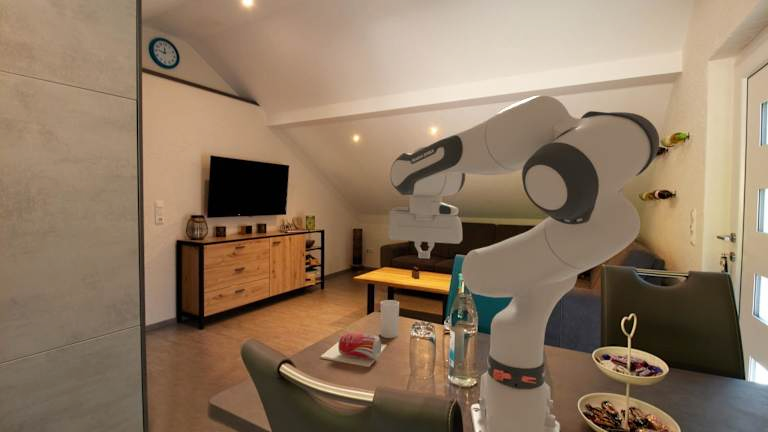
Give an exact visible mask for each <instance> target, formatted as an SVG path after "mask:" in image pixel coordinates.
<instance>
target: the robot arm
mask: <svg viewBox="0 0 768 432" xmlns="http://www.w3.org/2000/svg"><path fill="white" fill-rule="evenodd" d="M659 148H660V136H659V131H658V130H657V128H656V127H655V125H654V124H653V123H652V122H651V121H650V120H649V119H647V118H646V117H644V116H642V115H640V114H637V113H634V112H633V113H632V112H624V111H622V112H621V111H615V112H614V111H612V112H604V111H595V110H594V111H593V110H590V111H589V110H588V111H587V112H586V113H584V114H583V115H582V116H581V117H580V118H578V117H577V118H576V117H573V116H572V115H571V114H570V113H569V111H568V109H567V108H566V106H565V105H564V104H563V103H562V102H561V101H560V100H558V99H557V98H554V97H553V96H549V95H536V96H532V97H530V98H527V99H524V100H521V101H519V102H517V103H514V104H511V105H510V106H508V107H506V108H505V109H503V110H501V111H499V112H497V113H496V114H494V115H493V116H491V117H489V118H488V119H486V120H484V121H482V122H480V123H478V124H476V125H474V126H472V127H470V128H467V129H465V130H463V131H460V132H458V133H456V134H453V135H450V136H448V137H446V138H442V139H440V140H438V141H436V142H433V143H431V144H430V145H427V146H423V147H419V148H417V149H415V150H414V151H413V153H408V152H403V153H402V154H400V155H399V156H398V157H396V159H395V160H394V161H393V163H392V165H391V169H390V182H391V184H392V186H393V188H394V189H395V190H396V191H397V192H398V193H399V194H400V195H402V196H409V205H408V207H407V206H404V207H399V206H395V207H394V208H392V209H390V211H389V213H388V220H389V226H388V234H387V236H388V238H389V239H390V240H392V241H403V242H404V241H406V242H414V247H415V249H416V250H417V252H418V254H417V255H418V258H419V259H431V251H432V250H433V248H434V247H435V243H439V244H440V243H441V244H456V245H457V244H458V245H459V244H461V242H462V241H463V224H462V220H461V218H460V217H459V216H458V214H459V212H460V211H459V208H458V207H457V206H454V205H451V204H449V203H448V202H447V203H446V202H443V196H451V195H452V196H453V195H456V194H458V193H459V192H460V191H461V189H463V187H464V185H465V183H466V182H465V181H466V174H469V175H480V176H499V175H507V174H512V173H514V172H515V173H516V172H518V171H520V170H522V171H521V180H522V186H523V190H524V193H525V195H526V196H527V198H528V199H529V201H530V202H532V204H533V205H534V206H535V207H536V208H537V209H539V210H540V212H542V213H544V214H545V215H547V216H548V217H547V218H544V220H543V221H541V222H540V223H538V224H537V225H535V226H534V227H533V228H531V229H529V230H528V231H527V230H526V231H525V232H523V233H519V234H518V235H515V236H512V237H509V238H507V239H504V240H502V241H500V242H497V243H493V244H491V245H489V246H484V247H481V248H476V249H472V250H470V251H469V252H467V254H466V255H465V257H464V259H463V262H462V264H461V278H462V280H463V283H464V285H465V287H466V288H467V289H468V290H469V291H470V293H472V294H474V295H478V296H479V295H480V296H483V297H488V298H511V300H510V302H509V303H508V305H507V306H506V307H505V308H503V309H502V310H501V311H499V312H497V313H496V314H495V316H494V317H493V318H492V321H491V323H490V343H489V344H490V346H489V347H490V348H489V349H490V350H489V352H488V354H487V358H486V359H487V362H486V363H487V371H485V372H484V373H483V374H482V375H481V376H480V388H479V389H480V390H479V398H478V400H477V403H474V404H472V405H471V406H470V410H469V411H470V415H471V416H470V417H471V423H472V427H473V432H561V424H560V422H559V421H557V420H556V415H555V414H552V413H551V410H550V408H554V400H552V399H551V387H550V386H549V385H548V384H547V383H546V382H545V375H546V367H545V366H546V365H545V361H544V345H545V344H544V343H545V337H546V336H545V335H546V334H545V333H546V328H547V323H548V321H549V318H550V316H551V314H552V312H553V310H554V308H555V306H556V305H557V304H558V302H559V301H560V300H561V299H562V297H563V296H564V295H565V294H567V293H568V292H570V291H571V290H572V289H573V288H574V287H575V285H576V283H577V279H578V275H579V274H582V273H585V272H587V271H588V270H590V269H593V268H594V267H597V266H599V265H601V264H603V263H605V262H607V261H609V259H611V258H614V256H616V255H618V254H619V253H620V252H623V250H624V249H626V248H627V247H628V246H629V245H630V244H632V243H633V242H634V241H635V239H637V237H638V236H639V233H640V230H641V219H640V215H639V212H638V210H637V208H636V207H635V206H634V204H633V203H632V202H631V201H630V200H629V199H627V198H626V197H625V196H624V190H623V189H622V188H623V187H624V186H625V185H627V184H628V183H629V182H630V181H632V180H633V179H634V178H635V177H638V176H639V175H641V174H642V173H644V171H646V170H647V168H649V167H650V165H651V164H652V162H653V161H654V160H655V158H656V157H657V156H656V155H657V154H658V151H659ZM422 243H427V246H428V249H427V250H422V247H421V245H422Z"/></svg>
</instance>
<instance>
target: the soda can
mask: <svg viewBox="0 0 768 432" xmlns="http://www.w3.org/2000/svg"><path fill="white" fill-rule="evenodd" d="M338 342H339V345H338V349H339V352H340V353H341V354H343V355H344V356H347V357H353V358H361V359H376V360H377V359H378V357H380V355H381V354H380V352H381V344H382V340H381V339H380V337H379V336H378V335H375V334H367V333H358V332H356V333H355V332H348V333H347V332H346V333H345V334H341V335H340V337H339V340H338Z"/></svg>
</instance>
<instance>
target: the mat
mask: <svg viewBox="0 0 768 432" xmlns="http://www.w3.org/2000/svg"><path fill="white" fill-rule="evenodd" d="M338 345H339V341H337V342H336V343H335V344H334V345H333V346H331V347H330V348H329V349H327V350H326V352H324V353H322V354H321V355H320V359H322V360H329V361H335V362H339V363H345V364H351V365H355V366H360V367H361V366H363V367H367V368H369V367H371V365H373V363H374V362H375V361H376V360H377V359H361V358H353V357H347V356H344V355H343V354H341V353H340V352H339V349H338ZM386 348H387V344H383V343H381V352H380V355H381V354H382V353H383V351H385V349H386Z"/></svg>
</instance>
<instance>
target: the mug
mask: <svg viewBox="0 0 768 432" xmlns="http://www.w3.org/2000/svg"><path fill="white" fill-rule="evenodd" d="M399 314H400V302H399V301H398V300H394V299H385V300H382V301H380V336H381V337H382V338H386V339H394V338H397V337H398V334H399V316H400V315H399Z"/></svg>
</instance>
